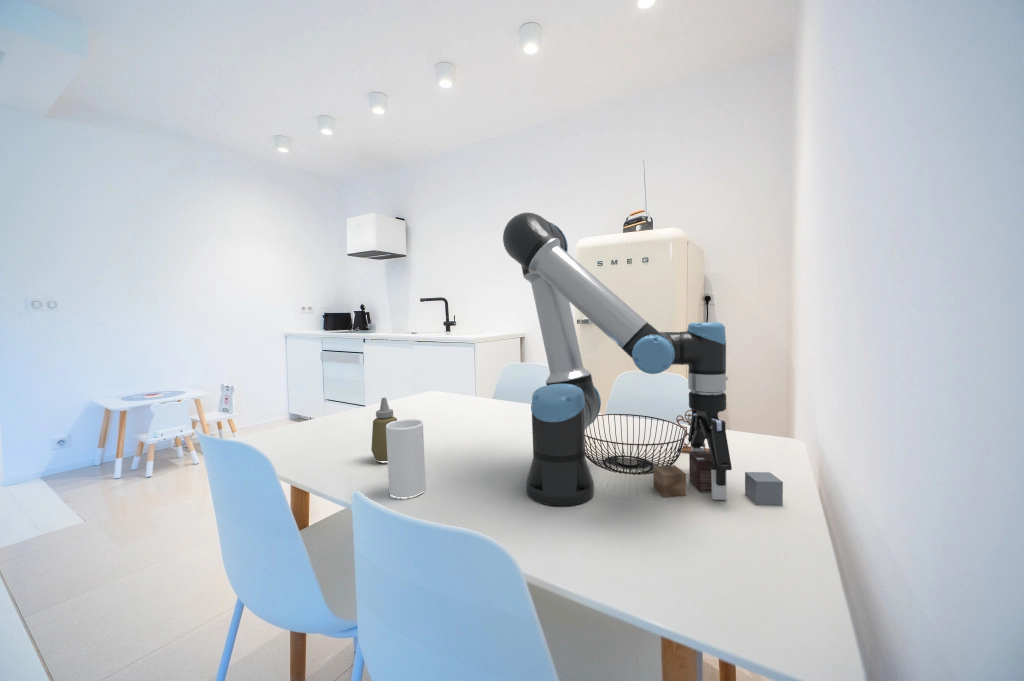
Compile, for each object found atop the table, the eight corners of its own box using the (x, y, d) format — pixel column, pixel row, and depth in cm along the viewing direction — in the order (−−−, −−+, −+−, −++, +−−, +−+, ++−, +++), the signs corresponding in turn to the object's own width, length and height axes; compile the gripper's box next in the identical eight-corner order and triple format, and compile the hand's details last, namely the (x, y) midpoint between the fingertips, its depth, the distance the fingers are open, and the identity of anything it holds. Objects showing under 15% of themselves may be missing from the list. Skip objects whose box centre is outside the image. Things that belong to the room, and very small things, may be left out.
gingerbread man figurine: (709, 451, 114) (709, 409, 113) (708, 456, 110) (708, 412, 110) (676, 447, 118) (675, 407, 118) (674, 451, 115) (673, 410, 114)
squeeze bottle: (396, 465, 111) (393, 400, 110) (367, 466, 111) (364, 401, 110) (405, 455, 119) (402, 394, 118) (377, 456, 119) (374, 395, 118)
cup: (432, 487, 96) (430, 420, 95) (410, 502, 88) (407, 429, 87) (405, 482, 99) (402, 418, 98) (381, 496, 92) (377, 426, 91)
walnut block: (663, 497, 87) (663, 475, 86) (653, 488, 92) (653, 466, 91) (686, 496, 87) (685, 473, 87) (674, 486, 92) (674, 465, 92)
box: (716, 481, 94) (715, 450, 93) (727, 493, 88) (727, 459, 87) (688, 481, 94) (688, 450, 94) (698, 492, 88) (697, 459, 88)
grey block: (756, 505, 82) (756, 481, 82) (745, 494, 87) (745, 471, 87) (782, 506, 81) (782, 481, 81) (769, 495, 86) (770, 472, 86)
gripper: (750, 403, 77) (750, 512, 78) (705, 382, 102) (706, 466, 103) (709, 403, 78) (710, 511, 79) (674, 382, 103) (675, 466, 104)
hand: (707, 486), depth 91 cm, fingers open, 12 cm apart
